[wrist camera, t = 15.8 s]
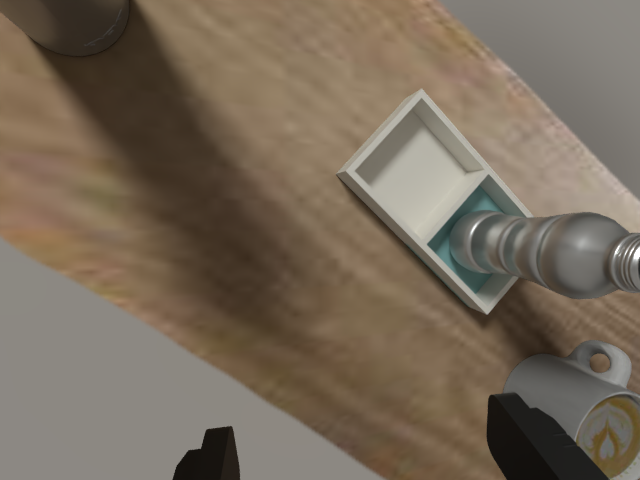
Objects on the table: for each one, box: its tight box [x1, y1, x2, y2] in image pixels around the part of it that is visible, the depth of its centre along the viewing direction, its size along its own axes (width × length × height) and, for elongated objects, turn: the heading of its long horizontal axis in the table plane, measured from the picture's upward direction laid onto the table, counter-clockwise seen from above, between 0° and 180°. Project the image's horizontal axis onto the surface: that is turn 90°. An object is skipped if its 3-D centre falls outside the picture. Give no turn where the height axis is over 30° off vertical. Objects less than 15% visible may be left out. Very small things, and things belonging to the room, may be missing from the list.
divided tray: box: [336, 89, 534, 315], centre depth 41 cm, size 21×11×4 cm, turn 47°
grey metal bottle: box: [449, 210, 640, 299], centre depth 34 cm, size 6×7×20 cm
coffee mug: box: [503, 340, 640, 480], centre depth 43 cm, size 13×10×10 cm
